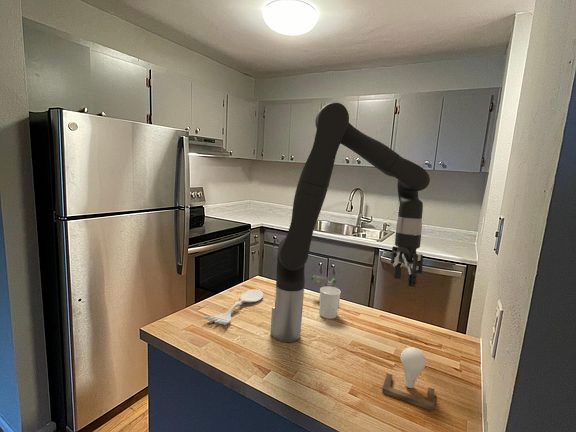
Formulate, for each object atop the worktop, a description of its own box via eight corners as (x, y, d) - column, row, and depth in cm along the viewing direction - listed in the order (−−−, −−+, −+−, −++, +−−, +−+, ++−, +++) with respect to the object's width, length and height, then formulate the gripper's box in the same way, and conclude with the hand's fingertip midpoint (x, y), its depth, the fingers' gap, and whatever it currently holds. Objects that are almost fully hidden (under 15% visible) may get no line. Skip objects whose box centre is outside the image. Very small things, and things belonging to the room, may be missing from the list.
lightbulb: (420, 383, 84) (426, 345, 83) (422, 398, 79) (428, 358, 77) (396, 376, 86) (401, 340, 84) (396, 391, 80) (402, 352, 79)
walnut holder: (382, 392, 80) (382, 388, 79) (386, 376, 86) (386, 372, 86) (433, 411, 74) (433, 406, 74) (433, 393, 81) (434, 389, 81)
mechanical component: (333, 302, 131) (335, 280, 130) (309, 298, 133) (311, 276, 132) (333, 299, 134) (336, 277, 133) (310, 296, 136) (312, 274, 135)
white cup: (341, 314, 121) (343, 290, 120) (333, 321, 115) (335, 296, 113) (323, 308, 125) (325, 284, 124) (314, 315, 119) (316, 290, 117)
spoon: (202, 325, 106) (202, 316, 106) (248, 293, 136) (248, 285, 135) (224, 332, 103) (225, 322, 103) (267, 297, 132) (267, 289, 132)
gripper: (386, 228, 104) (382, 276, 106) (410, 234, 90) (405, 289, 92) (407, 229, 106) (402, 276, 107) (433, 235, 92) (428, 289, 93)
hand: (403, 282), depth 99 cm, fingers open, 8 cm apart
